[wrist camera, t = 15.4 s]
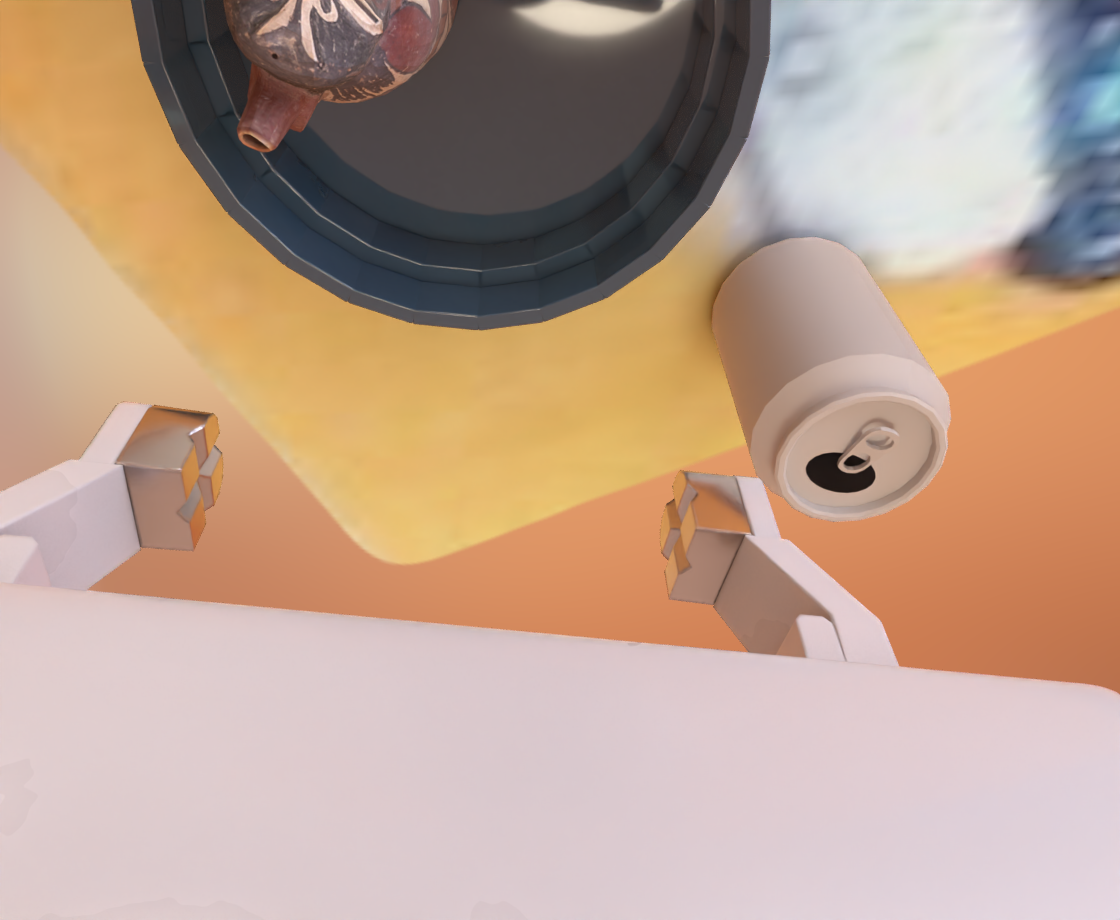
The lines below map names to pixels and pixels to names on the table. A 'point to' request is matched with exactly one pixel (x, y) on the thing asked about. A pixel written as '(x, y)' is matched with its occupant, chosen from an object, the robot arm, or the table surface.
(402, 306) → the bowl
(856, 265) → the can
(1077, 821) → the robot arm
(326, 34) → the figurine
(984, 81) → the table surface
